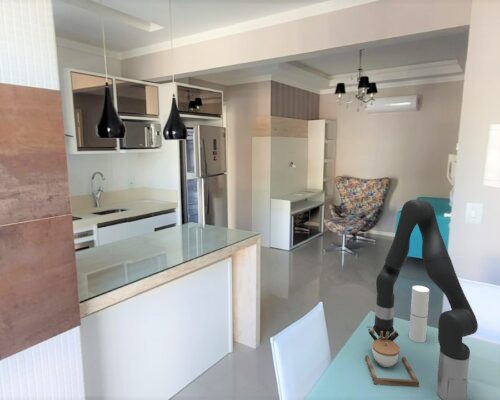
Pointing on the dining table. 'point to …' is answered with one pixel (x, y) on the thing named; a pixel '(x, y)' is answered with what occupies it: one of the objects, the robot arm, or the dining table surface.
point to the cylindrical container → (419, 313)
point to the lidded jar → (385, 352)
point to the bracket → (396, 382)
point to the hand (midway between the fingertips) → (381, 350)
